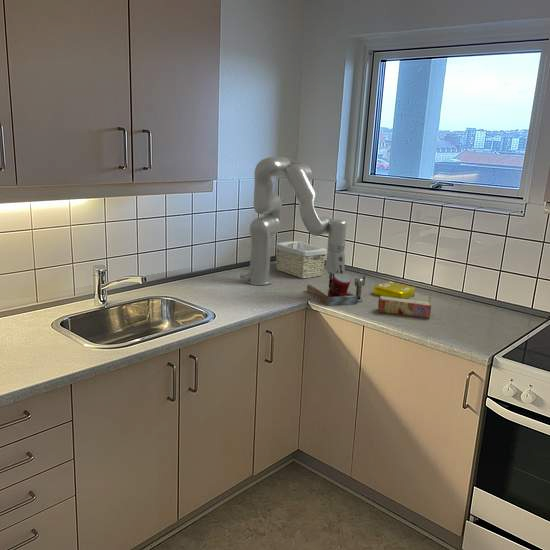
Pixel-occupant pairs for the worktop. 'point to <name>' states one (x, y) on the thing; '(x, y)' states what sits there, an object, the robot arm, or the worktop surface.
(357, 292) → the grey metal upright piece
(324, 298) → the bay
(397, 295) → the element tile
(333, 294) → the canned food
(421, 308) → the snack package
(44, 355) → the worktop surface
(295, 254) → the storage basket
